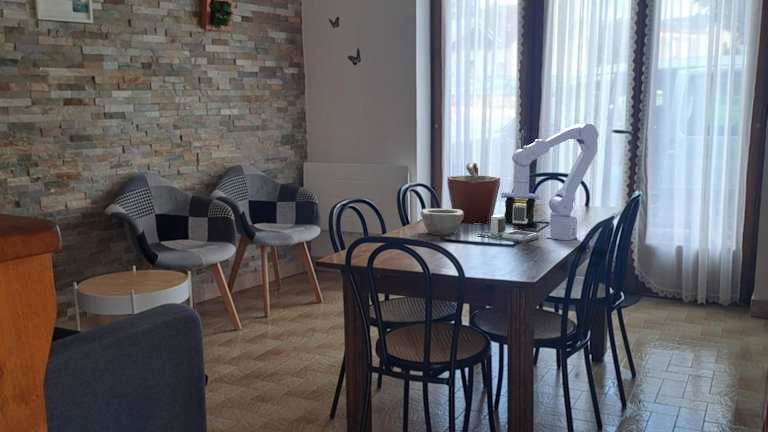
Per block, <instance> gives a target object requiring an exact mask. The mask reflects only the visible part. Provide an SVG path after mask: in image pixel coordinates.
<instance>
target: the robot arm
mask: <svg viewBox="0 0 768 432" xmlns="http://www.w3.org/2000/svg"><path fill="white" fill-rule="evenodd" d="M598 131H599V130H597V128H596V126H595V125H594V124H592V123H583V122H579V123H576V124H573V125H570V126H569V127H566V128H565V129H563V130H562V131H559V132H558V133H556V134H555V135H552V136H550V137H549V138H547V139H546V140H545V139H543V138H542V139H541V138H540V139H538V138H537V139H535V140H534V142H533V143H531V144H529V145H524V146H523V147H522V148H523V149H517V150H515V151H514V153H513V154H512V156H511V160H512V162H513V164H514V165H513V181H512V182H513V186H512V187H513V188H512V190H513V192H504V191H503V192H501V193H500V194H501V195H500V197H501V198H502V199H505V200H506V202H507V204H508V206H509V209H510V213H511V218H513V204H514V203H515V198H517V199H528V200H526V208H527V211H526V219H528V218H529V215H530V212H531V209H532V207H533V204H534V205H535V203H536V200H537V201H540V200H542V199H541V198H542V195H541V194H540V193H530V164H532V161H535V160H537V159H539V158H540V157H543V156H544V155H547V154H549V151H550V149H551V148H552V147H555V146H557V145H560V144H562V143H563V142H566V141H568V140H575V141H576V142H577V143H578V146H579V148H580V152H579V154H578V156H577V158H576V160H575V162H574V164H573V166H572V167H571V169H570V171H569V173H568V176H567V177H566V179H565V180H564V182H563V184H562V187H560V188H559V189H558V190H557V191H556V193H555V194H554V195H553V196H552V197H551V198H550V199H549V201H548V207H549V209H550V210H551V212H550V220H549V221H550V225H549V227H550V228H549V235H546V236H545V238H546V239H553V240H561V241H572V240H574V239H577V238H578V236H577V235H578V230H577V229H578V219H577V217H576V216H574V215H573V216H572V215H571V213H572V211H573V210H574V202H575V200H576V192H577V190H578V188H579V186H580V184H581V183H582V181H583V179H584V177H585V175H586V173H587V172H588V170H589V167H590V165H591V164H592V162H593V160H594V158H595V156H596V154H597V153H598V138H599V136H600V135H599V132H598Z"/></svg>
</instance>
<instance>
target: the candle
mask: <svg viewBox="0 0 768 432" xmlns="http://www.w3.org/2000/svg"><path fill="white" fill-rule="evenodd" d="M526 200H528V199H517V198H515V203H521V204H526ZM504 203H505V205H504V206H505V212H504V215H505V218H506V223H508V224H507V225H516V224H518V225H517V226H528V225H530V224H532V223H534V217H535V215H534V208H535V203H534V204H533V207H532V209H531V212H530V215H529V218H528V222H527V223H526V224H524V223H512V222H513V218H511V213H510V209H509V206H508V204H507V202H506V199H504Z"/></svg>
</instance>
